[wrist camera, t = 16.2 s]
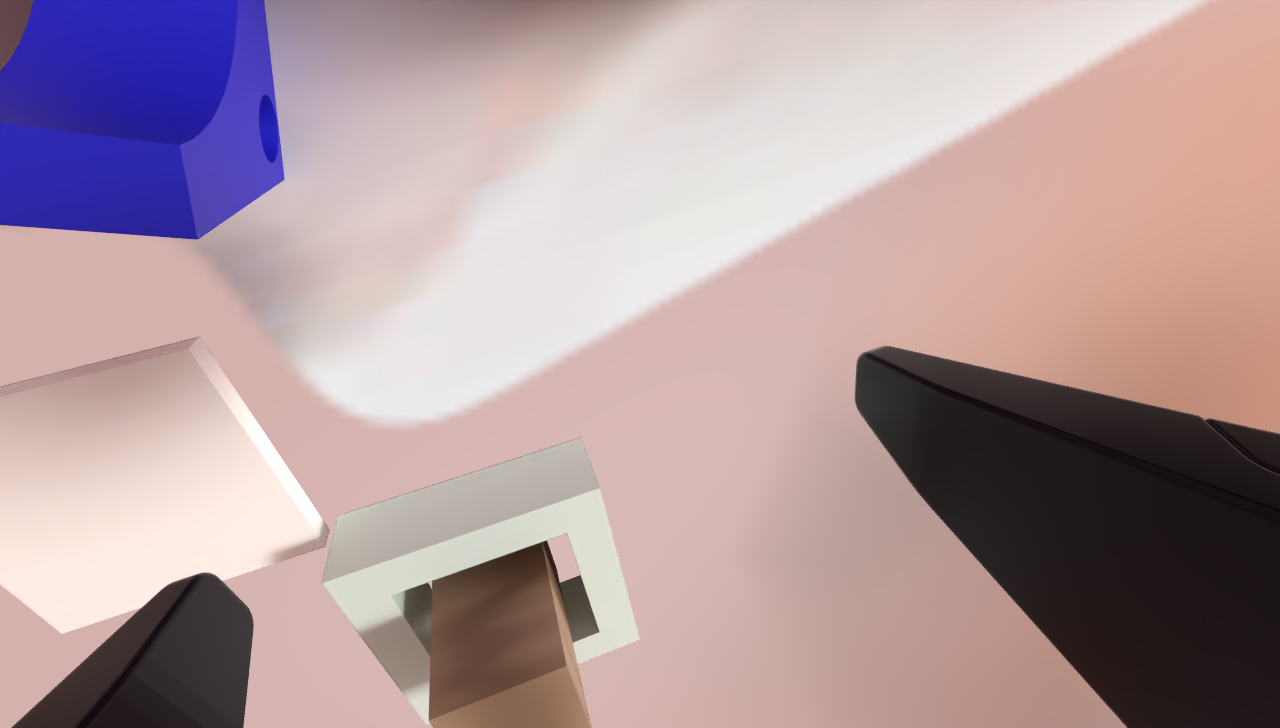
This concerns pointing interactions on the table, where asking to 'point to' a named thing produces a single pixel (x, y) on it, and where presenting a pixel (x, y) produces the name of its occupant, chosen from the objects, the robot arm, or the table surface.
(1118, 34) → the table surface
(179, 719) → the robot arm
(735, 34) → the table surface
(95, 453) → the tile
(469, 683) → the walnut peg block
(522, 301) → the table surface
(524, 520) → the frame
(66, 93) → the cable clip
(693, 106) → the table surface
